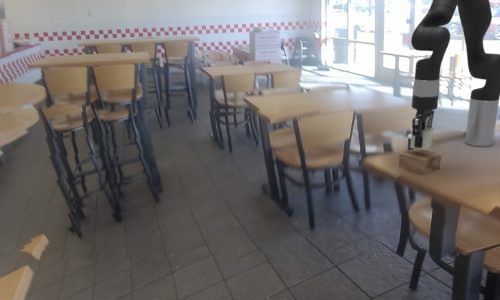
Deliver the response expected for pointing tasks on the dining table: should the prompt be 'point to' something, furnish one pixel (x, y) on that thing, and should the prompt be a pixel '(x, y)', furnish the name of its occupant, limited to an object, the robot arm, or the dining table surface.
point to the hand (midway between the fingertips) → (420, 144)
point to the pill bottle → (409, 141)
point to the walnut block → (420, 161)
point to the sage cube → (426, 139)
